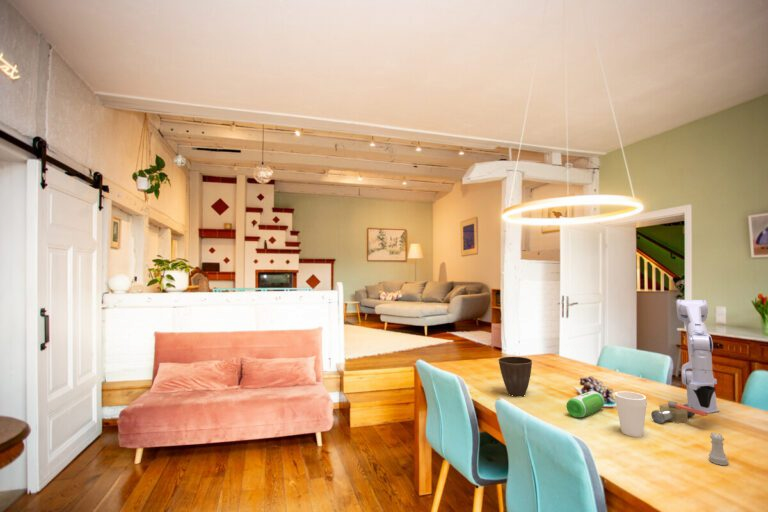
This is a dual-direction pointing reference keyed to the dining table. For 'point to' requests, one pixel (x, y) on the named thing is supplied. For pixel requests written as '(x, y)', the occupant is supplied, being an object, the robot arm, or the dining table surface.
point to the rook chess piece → (717, 450)
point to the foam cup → (631, 412)
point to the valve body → (671, 414)
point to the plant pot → (516, 374)
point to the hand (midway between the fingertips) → (704, 406)
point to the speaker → (585, 404)
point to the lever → (687, 408)
